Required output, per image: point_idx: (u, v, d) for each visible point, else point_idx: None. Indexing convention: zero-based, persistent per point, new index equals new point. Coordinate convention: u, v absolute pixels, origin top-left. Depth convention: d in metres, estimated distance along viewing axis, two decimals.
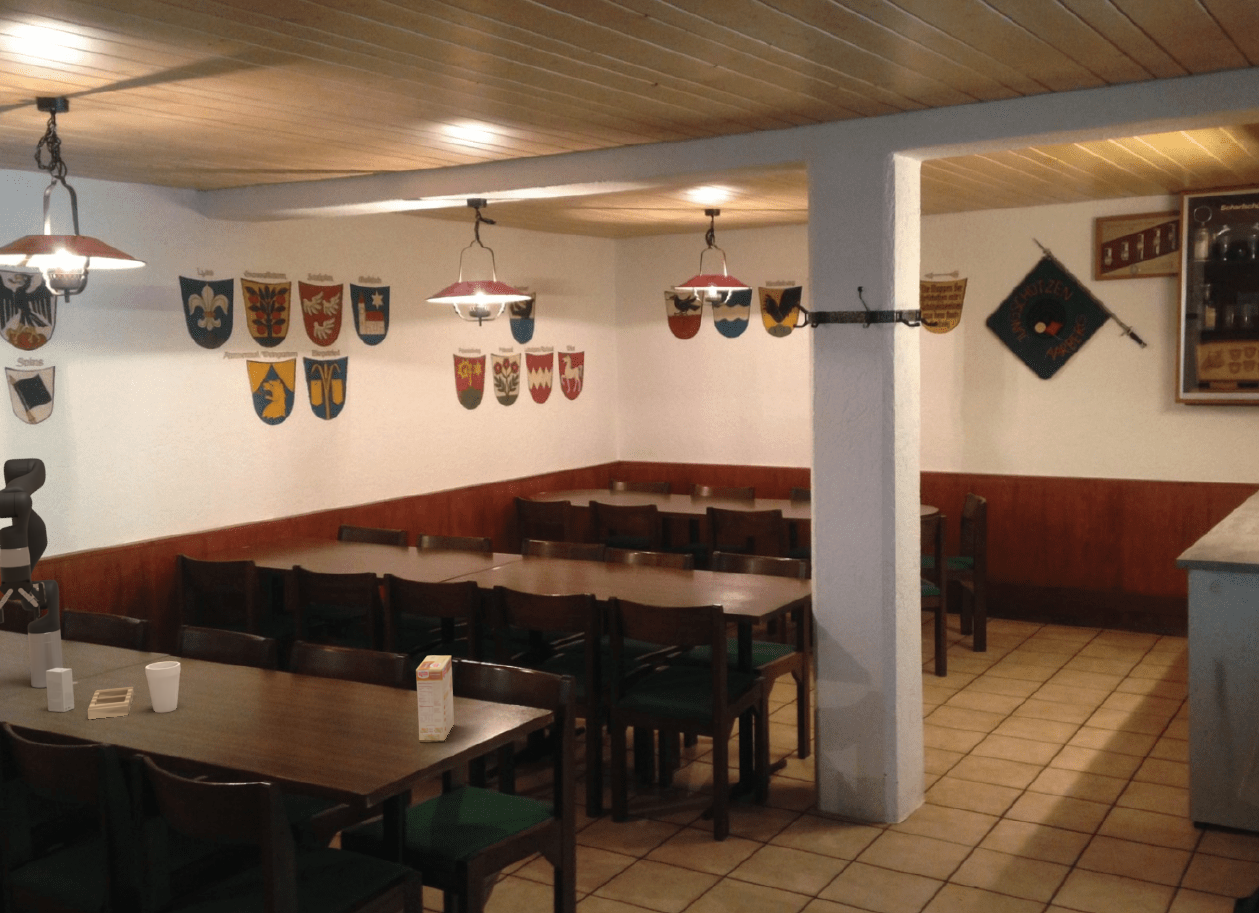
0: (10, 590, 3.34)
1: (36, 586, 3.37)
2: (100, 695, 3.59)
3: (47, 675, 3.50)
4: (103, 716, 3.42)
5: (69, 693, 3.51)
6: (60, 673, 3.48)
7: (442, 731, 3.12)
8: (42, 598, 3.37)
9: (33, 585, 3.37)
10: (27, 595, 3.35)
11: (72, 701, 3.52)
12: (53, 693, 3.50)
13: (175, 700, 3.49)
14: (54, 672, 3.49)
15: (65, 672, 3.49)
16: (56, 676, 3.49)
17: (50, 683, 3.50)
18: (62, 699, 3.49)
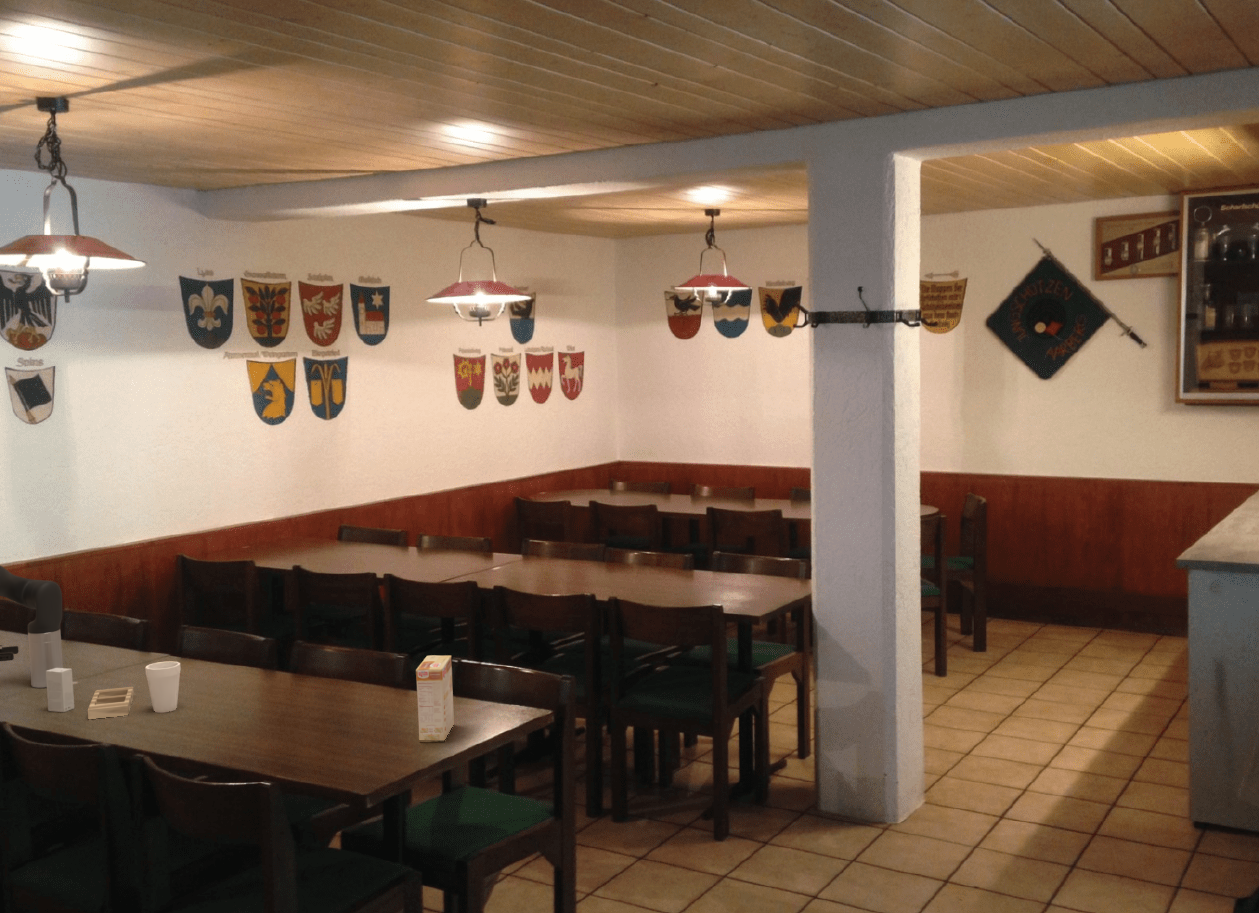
0: None
1: None
2: (100, 695, 3.59)
3: (47, 675, 3.50)
4: (103, 716, 3.42)
5: (69, 693, 3.51)
6: (60, 673, 3.48)
7: (442, 731, 3.12)
8: None
9: None
10: None
11: (72, 701, 3.52)
12: (53, 693, 3.50)
13: (175, 700, 3.49)
14: (54, 672, 3.49)
15: (65, 672, 3.49)
16: (56, 676, 3.49)
17: (50, 683, 3.50)
18: (62, 699, 3.49)
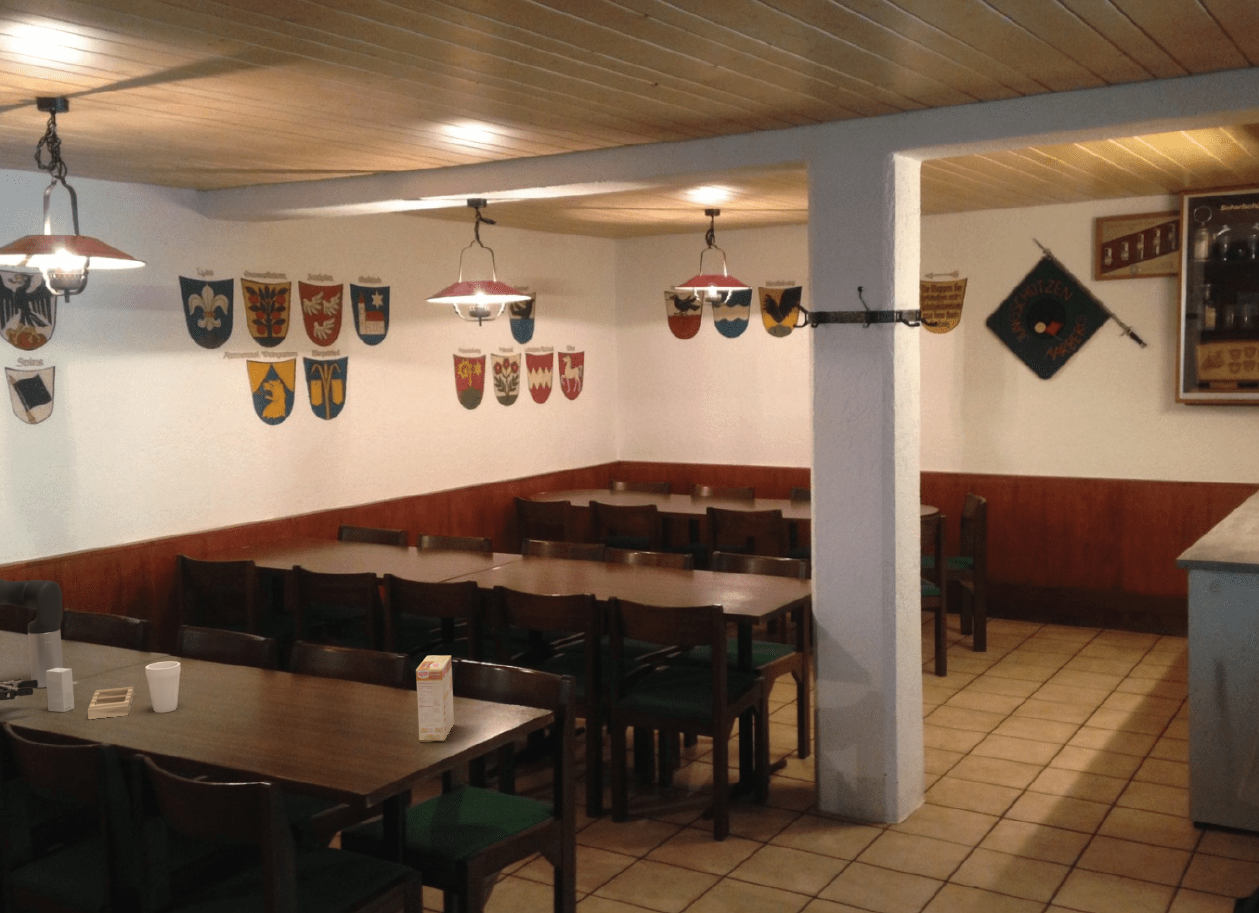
0: None
1: None
2: (100, 695, 3.59)
3: (47, 675, 3.50)
4: (103, 716, 3.42)
5: (69, 693, 3.51)
6: (60, 673, 3.48)
7: (442, 731, 3.12)
8: None
9: None
10: None
11: (72, 701, 3.52)
12: (53, 693, 3.50)
13: (175, 700, 3.49)
14: (54, 672, 3.49)
15: (65, 672, 3.49)
16: (56, 676, 3.49)
17: (50, 683, 3.50)
18: (62, 699, 3.49)
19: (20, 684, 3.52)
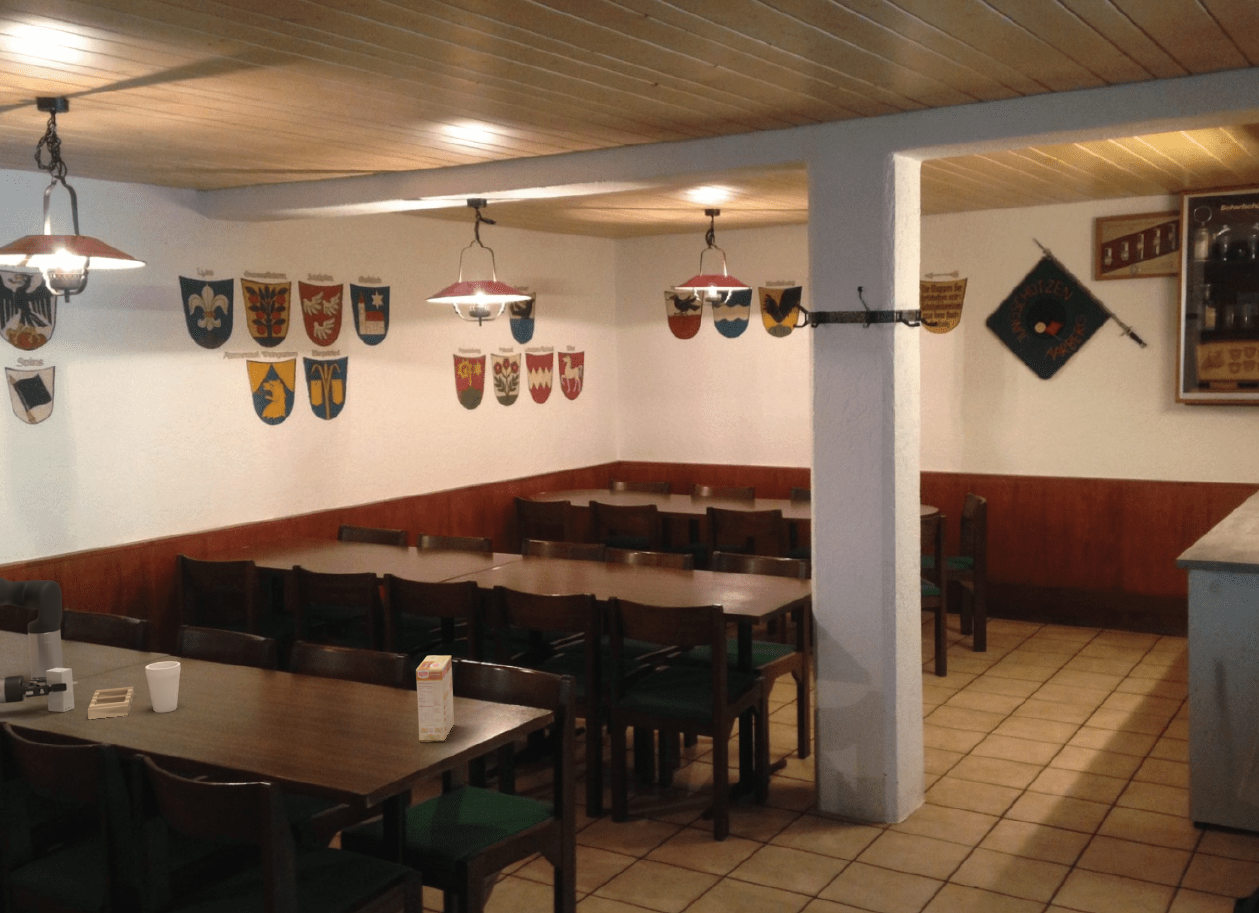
0: None
1: None
2: (100, 695, 3.59)
3: (47, 675, 3.50)
4: (103, 716, 3.42)
5: (69, 693, 3.51)
6: (60, 673, 3.48)
7: (442, 731, 3.12)
8: None
9: None
10: None
11: (72, 701, 3.52)
12: (53, 693, 3.50)
13: (175, 700, 3.49)
14: (54, 672, 3.49)
15: (65, 672, 3.49)
16: (56, 676, 3.49)
17: (50, 683, 3.50)
18: (62, 699, 3.49)
19: None
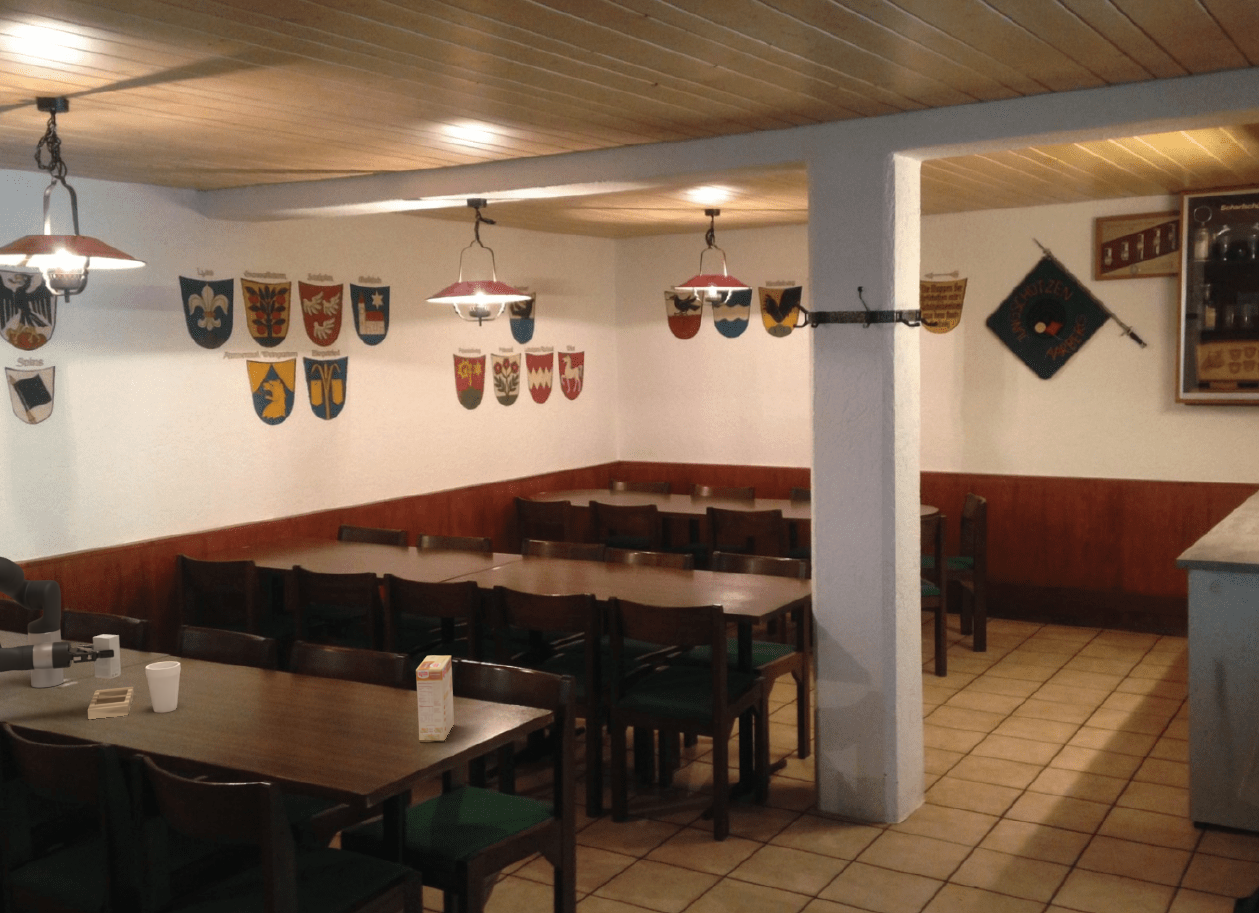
0: None
1: None
2: (100, 695, 3.59)
3: (94, 641, 3.47)
4: (103, 716, 3.42)
5: (116, 660, 3.48)
6: (107, 639, 3.45)
7: (442, 731, 3.12)
8: None
9: None
10: None
11: (119, 668, 3.49)
12: (100, 660, 3.46)
13: (175, 700, 3.49)
14: (101, 638, 3.46)
15: (112, 638, 3.46)
16: (103, 642, 3.46)
17: (97, 649, 3.47)
18: (109, 665, 3.46)
19: None
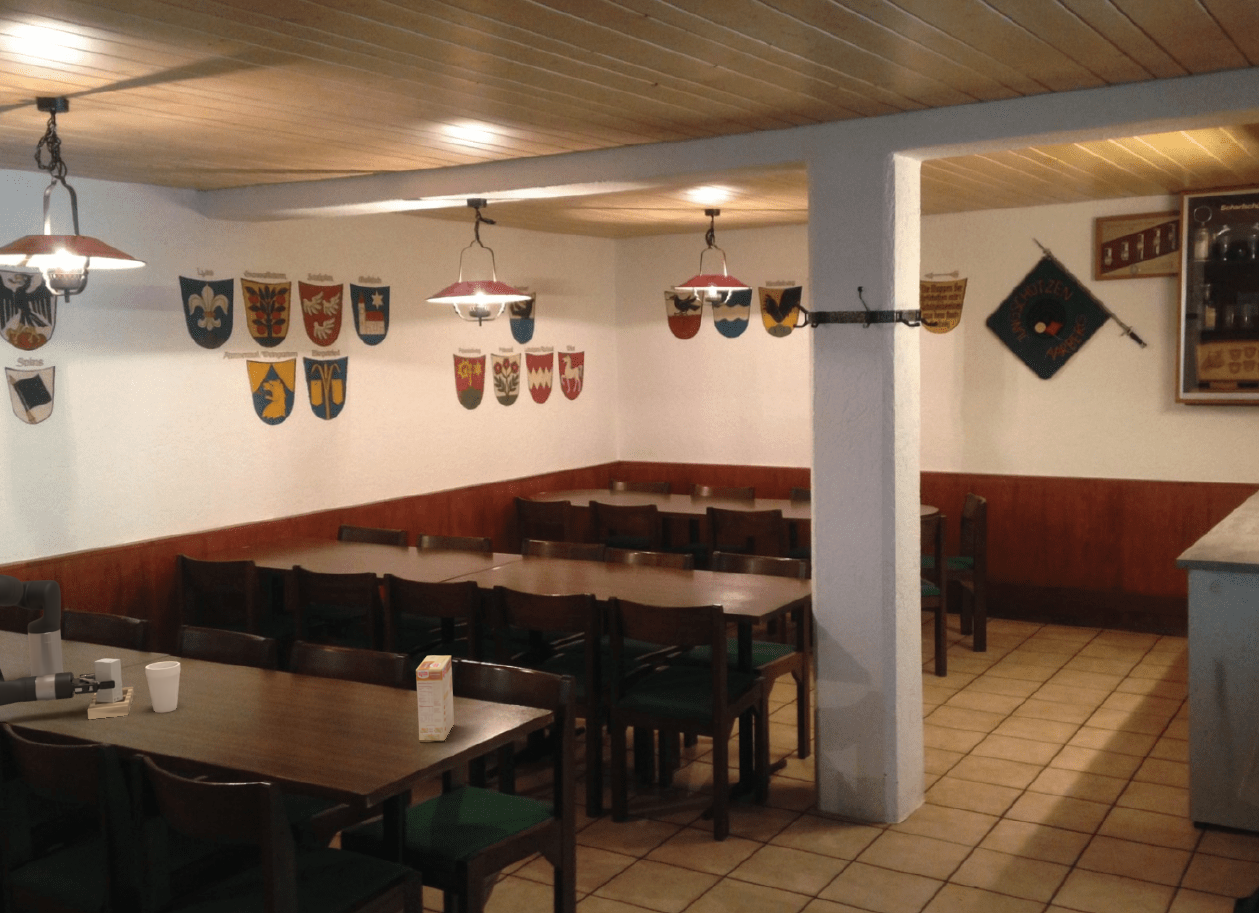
0: None
1: None
2: None
3: (96, 665, 3.47)
4: (103, 716, 3.42)
5: (118, 684, 3.48)
6: (109, 663, 3.46)
7: (442, 731, 3.12)
8: None
9: None
10: None
11: (120, 692, 3.49)
12: None
13: (175, 700, 3.49)
14: (103, 662, 3.46)
15: (114, 662, 3.47)
16: (105, 666, 3.46)
17: (99, 674, 3.47)
18: (111, 689, 3.46)
19: None
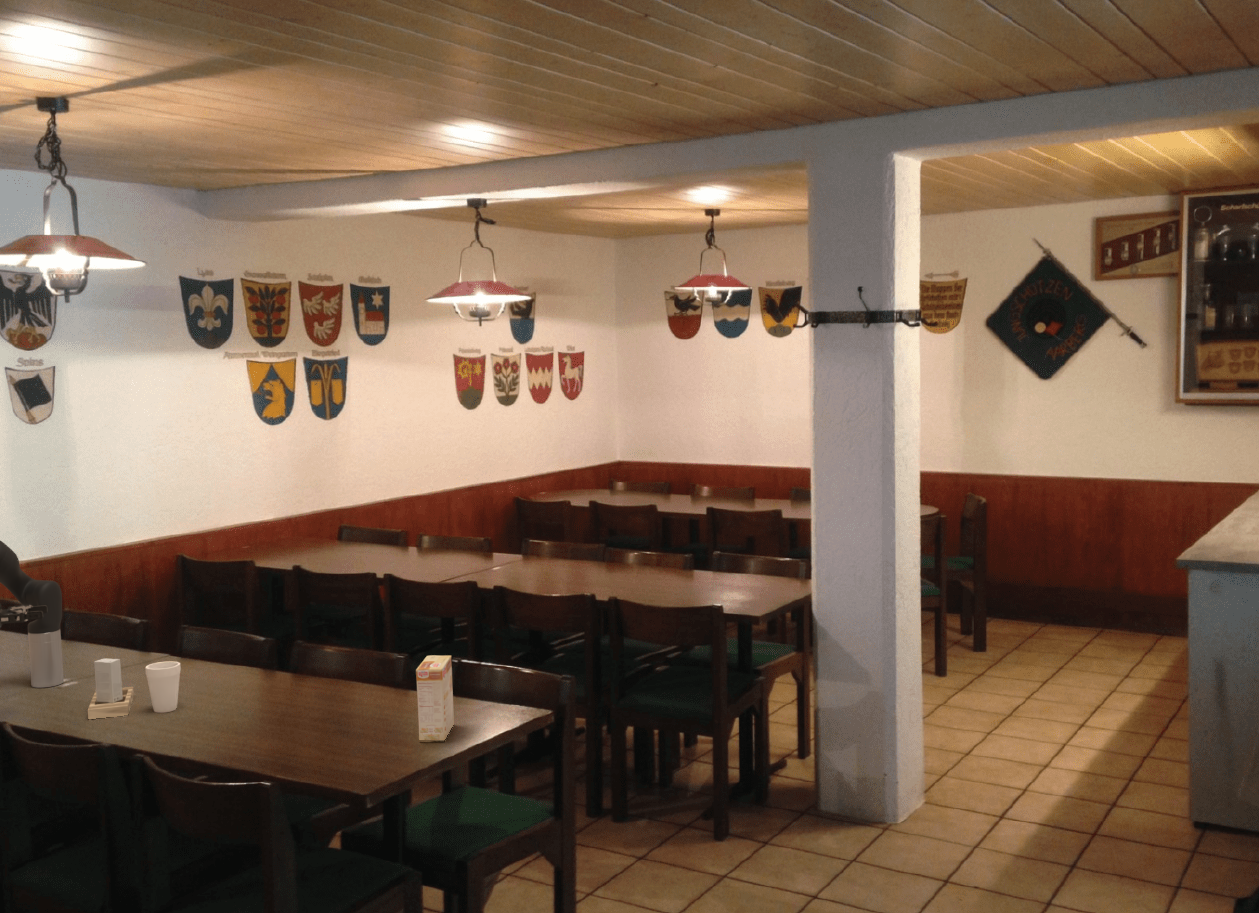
0: None
1: None
2: None
3: (95, 666, 3.47)
4: (103, 716, 3.42)
5: (118, 684, 3.48)
6: (109, 663, 3.46)
7: (442, 731, 3.12)
8: None
9: None
10: None
11: (120, 692, 3.49)
12: (101, 684, 3.47)
13: (175, 700, 3.49)
14: (103, 662, 3.46)
15: (114, 662, 3.47)
16: (105, 667, 3.46)
17: (99, 674, 3.47)
18: (111, 689, 3.46)
19: (29, 609, 3.48)
